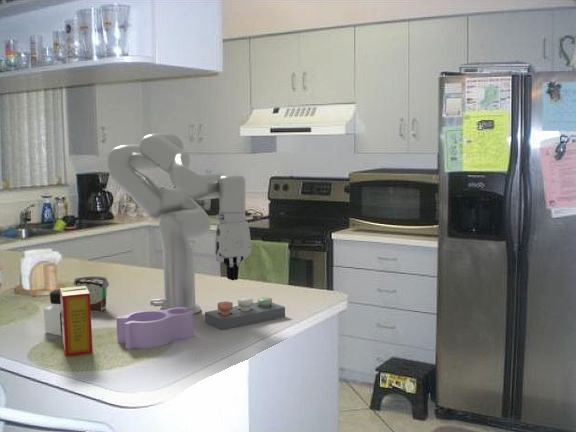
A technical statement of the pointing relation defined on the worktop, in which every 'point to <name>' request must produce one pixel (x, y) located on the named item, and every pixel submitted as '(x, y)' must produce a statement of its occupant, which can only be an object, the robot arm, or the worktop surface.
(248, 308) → the ivory button
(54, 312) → the medicine bottle
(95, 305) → the food container
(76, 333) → the baking soda box
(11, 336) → the worktop surface
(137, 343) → the clip
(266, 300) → the sage button
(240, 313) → the button panel
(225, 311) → the terracotta button
